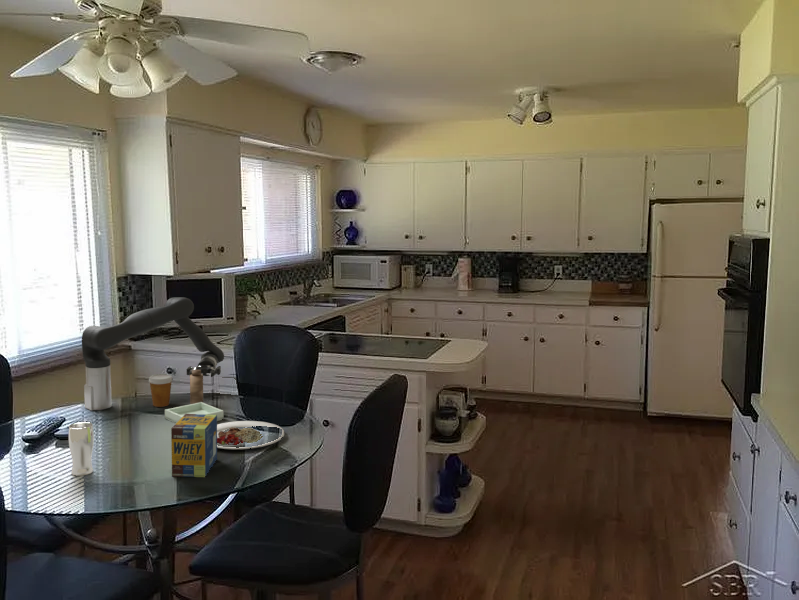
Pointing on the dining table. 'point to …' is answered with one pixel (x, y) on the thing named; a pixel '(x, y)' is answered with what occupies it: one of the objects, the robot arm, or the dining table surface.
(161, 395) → the disposable coffee cup
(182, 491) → the dining table surface
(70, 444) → the beer glass
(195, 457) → the protein box
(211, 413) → the bin
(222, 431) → the plated food
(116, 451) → the dining table surface
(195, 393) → the pepper mill
